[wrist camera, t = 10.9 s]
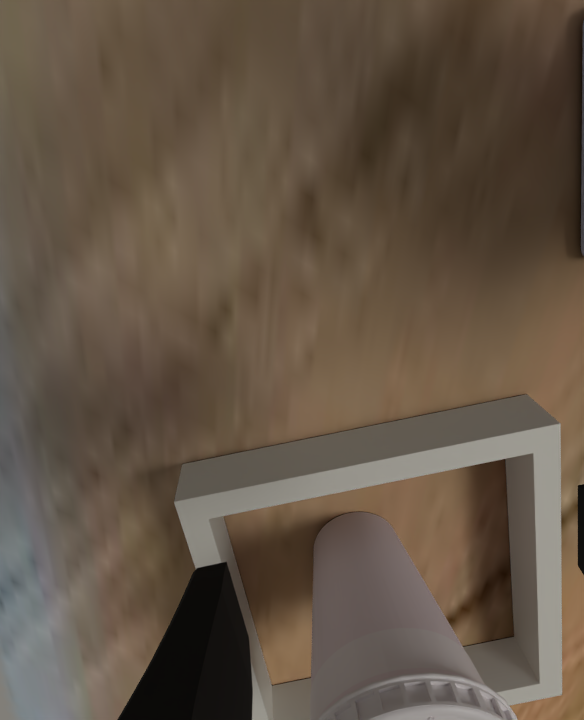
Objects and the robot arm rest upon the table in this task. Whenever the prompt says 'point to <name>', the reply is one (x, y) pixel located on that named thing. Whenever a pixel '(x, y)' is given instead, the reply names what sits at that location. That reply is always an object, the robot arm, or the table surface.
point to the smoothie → (385, 635)
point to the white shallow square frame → (392, 463)
